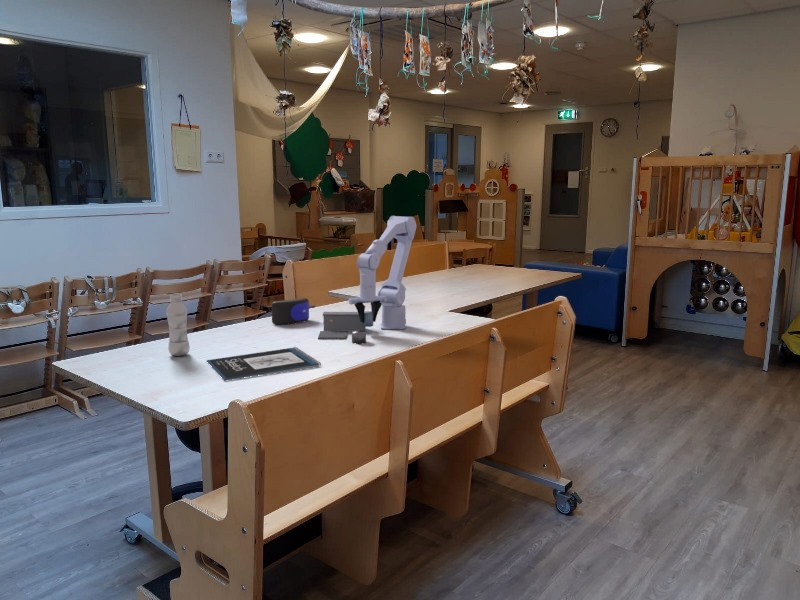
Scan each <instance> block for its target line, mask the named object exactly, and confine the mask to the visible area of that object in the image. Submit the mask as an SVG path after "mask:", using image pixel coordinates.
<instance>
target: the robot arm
mask: <svg viewBox="0 0 800 600" xmlns="http://www.w3.org/2000/svg"><path fill="white" fill-rule="evenodd" d="M415 219H416V218H415V217H413V216H399V215H397V216H396V215H391V216H390V217H389V219H388V220H387V221H386V222H387V224H386V225H387V227H386V228H385V230H384V231H383V233H382V234H381V236H380V237H379V239H375V240H373V241H372V242H371V244H370V246H369V247H368V248H367V249H366V251H365V252H364V253H361V254H359V255H358V257H357V261H356V266H357V268H358V273H359V287H360V289H359V290H360V291H359V295H360V296H358V297H351V298H348V304H349V305H354V306H355V308H356V312H358V314H359V317H360V322H362V323H364V312H365V309H366V305H364V304H368V303H369V304H370V307H371V312H373V323H375V322H376V320H377V316H378V314H379V310H380V309H381V323H380V329H381V330H406V324H407V319H406V305H404V302H405V300H406V290H407V288H406V286H404V285H405V284H403V283H402V281H403V277H404V273H405V270H406V267H407V262H408V258H409V254H410V250H411V246H412V243H413V240H414V238H415V235H416V230H417V227H418V226H417V223H416V220H415ZM393 239H396V240H397V244H396V249H395V251H394V256H393V260H392V264H391V268H390V272H389V276H388V278H387V279H386V280H385V281H383V282H382V283H381V286H380V288H379V290H378V291H377V290H376V288H377V287H376V285H377V284H376V279H377V278H376V277H377V276H376V274H377V273H376V272H377V271H376V270H377V268H378V267H379V266H380V261H381V258H382V257H383V255H384V254H385V253H386V251H387V249H388V247H387V245H389V243H390V242H391V241H392V240H393ZM376 291H377V293H376ZM376 294H377V295H376Z"/></svg>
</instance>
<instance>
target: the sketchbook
mask: <svg viewBox="0 0 800 600" xmlns="http://www.w3.org/2000/svg"><path fill="white" fill-rule="evenodd" d="M207 362H208V363H209V364H210V365H211V366H212V367H211V366H210V365H209V364H208V363H207ZM206 363H207V364H208V365H209V366H210V367H211V368H212V369H213V371H214V370H215V371H216V372H217V373H218V374H219V375H220V376H221V377H222V378H221V377H220V376H219V375H218V374H217V373H216V372H215V373H216V374H217V375H218V376H219V377H220V378H221V379H222V380H223V381H224V382H227V381H226V380H231V381H233V380H232V379H237V380H239V379H238V378H244V377H250V376H257V377H259V376H258V375H263V376H267V374H270V375H275V374H274V373H276V374H281V372H283V373H288V372H287V371H289V372H294V371H293V370H296V371H301V370H300V369H302V370H307V369H306V368H309V369H314V368H313V367H316V368H320V366H322V363H321V362H320V361H319V360H317V359H316V358H314V357H312V356H311V355H309V353H306V352H304V351H303V350H302V349H300V348H299V347H296V346H293V347H288V348H282V349H281V348H280V349H274V350H267V351H259V352H254V353H247V354H241V355H240V354H239V355H234V356H226V357H220V358H213V359H206ZM319 365H320V366H319ZM250 378H251V377H250ZM244 379H245V378H244Z"/></svg>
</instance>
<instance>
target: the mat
mask: <svg viewBox="0 0 800 600" xmlns="http://www.w3.org/2000/svg"><path fill="white" fill-rule="evenodd" d="M346 334H347V335H348V331H324V330H320V332H319V334H318V337H317V339H318V340H346V339H347V335H346Z"/></svg>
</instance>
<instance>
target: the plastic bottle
mask: <svg viewBox="0 0 800 600" xmlns="http://www.w3.org/2000/svg"><path fill="white" fill-rule="evenodd" d="M182 301H183V295H182V294H181V293H172V294H169V305H168V306H167V308H166V310H165V313H166V318H167V323H168V330H169V335H168V337H169V340H168V341H169V342H168V352H169V354H170V355H171V356H173V357H182V356H185V355H188V354H189V353H190V342H189V338H188V333H187V332H188V331H187V319H188V309H187V307H186V305H185V304H184V303H183V302H182Z"/></svg>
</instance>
